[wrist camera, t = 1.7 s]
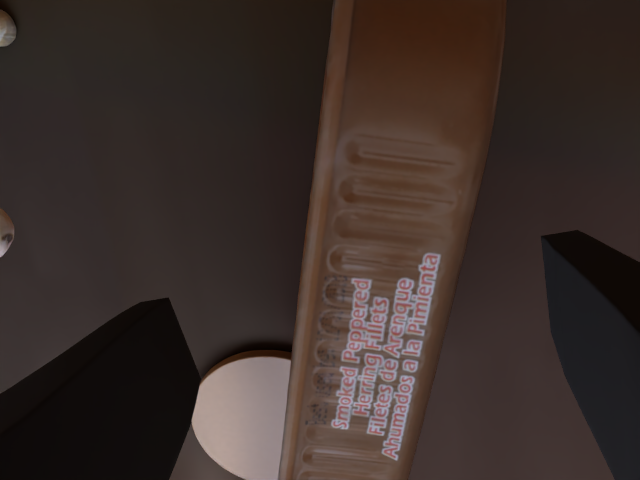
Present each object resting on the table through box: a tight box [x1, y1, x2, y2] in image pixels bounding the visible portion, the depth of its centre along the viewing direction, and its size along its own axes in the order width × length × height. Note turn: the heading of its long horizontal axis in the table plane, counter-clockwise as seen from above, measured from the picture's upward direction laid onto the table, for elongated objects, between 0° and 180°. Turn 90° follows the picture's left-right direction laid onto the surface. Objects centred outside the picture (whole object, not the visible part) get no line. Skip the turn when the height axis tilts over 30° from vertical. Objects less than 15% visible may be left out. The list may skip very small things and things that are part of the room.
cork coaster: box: [192, 350, 292, 480], centre depth 22 cm, size 6×6×1 cm
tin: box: [278, 0, 507, 480], centre depth 14 cm, size 15×3×8 cm, turn 173°
